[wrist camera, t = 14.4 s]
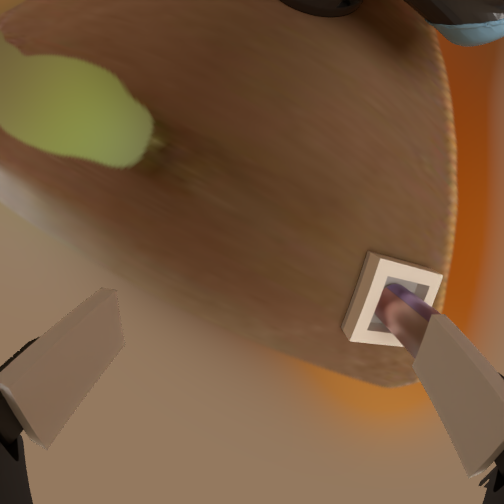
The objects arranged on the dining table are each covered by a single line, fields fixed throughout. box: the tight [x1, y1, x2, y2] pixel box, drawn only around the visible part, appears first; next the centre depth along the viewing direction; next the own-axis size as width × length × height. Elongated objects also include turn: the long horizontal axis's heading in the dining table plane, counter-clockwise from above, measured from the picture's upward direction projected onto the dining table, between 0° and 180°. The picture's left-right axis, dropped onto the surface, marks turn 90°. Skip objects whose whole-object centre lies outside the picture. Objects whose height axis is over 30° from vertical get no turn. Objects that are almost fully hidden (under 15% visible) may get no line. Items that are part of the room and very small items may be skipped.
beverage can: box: [375, 284, 459, 358], centre depth 31 cm, size 6×6×15 cm
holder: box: [341, 251, 443, 347], centre depth 37 cm, size 12×12×4 cm
